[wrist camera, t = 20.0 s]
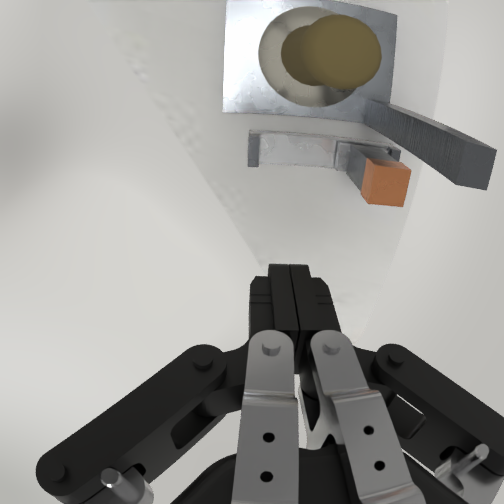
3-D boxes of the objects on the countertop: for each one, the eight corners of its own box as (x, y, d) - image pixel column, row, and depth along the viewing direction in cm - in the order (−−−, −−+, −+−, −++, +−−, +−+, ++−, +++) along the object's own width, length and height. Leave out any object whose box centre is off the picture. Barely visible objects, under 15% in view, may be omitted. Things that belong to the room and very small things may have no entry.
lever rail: (247, 158, 32) (247, 166, 30) (249, 130, 31) (248, 135, 28) (386, 169, 33) (395, 178, 30) (390, 143, 31) (400, 150, 29)
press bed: (223, 110, 29) (194, 162, 14) (228, -5, 23) (203, -80, 8) (380, 123, 30) (486, 190, 15) (391, 16, 23) (511, -3, 8)
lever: (333, 170, 31) (357, 203, 24) (338, 139, 29) (364, 164, 23) (379, 174, 31) (412, 207, 24) (384, 145, 29) (420, 171, 23)
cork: (281, 21, 23) (299, -3, 14) (347, 29, 23) (397, 15, 14) (279, 83, 26) (295, 93, 17) (344, 89, 26) (391, 105, 17)
